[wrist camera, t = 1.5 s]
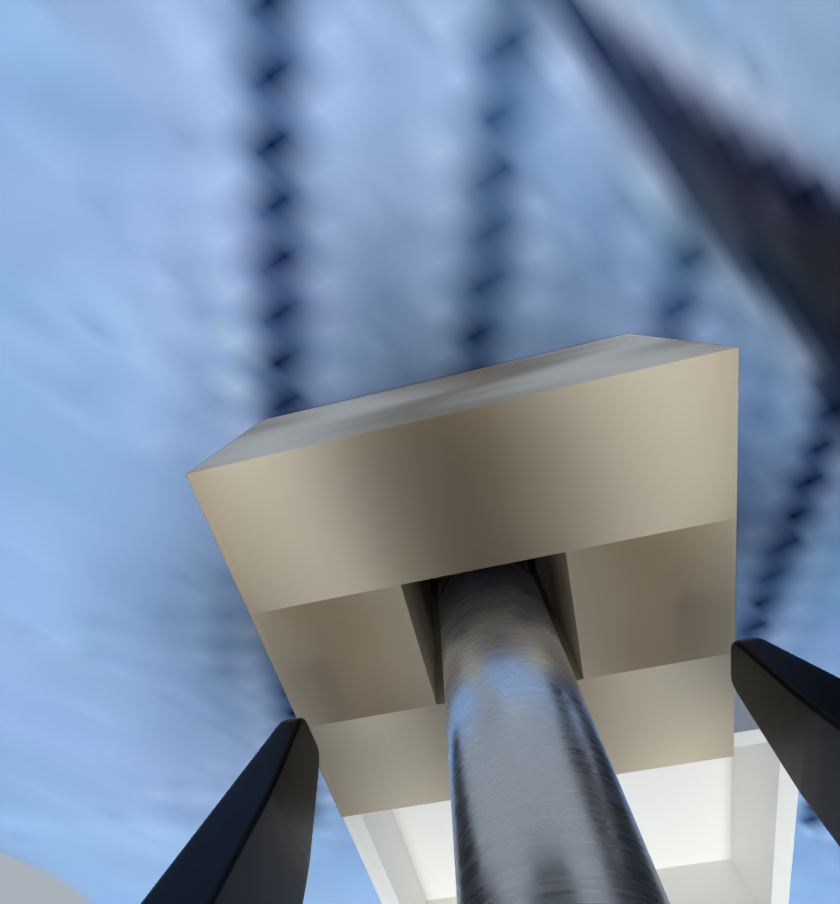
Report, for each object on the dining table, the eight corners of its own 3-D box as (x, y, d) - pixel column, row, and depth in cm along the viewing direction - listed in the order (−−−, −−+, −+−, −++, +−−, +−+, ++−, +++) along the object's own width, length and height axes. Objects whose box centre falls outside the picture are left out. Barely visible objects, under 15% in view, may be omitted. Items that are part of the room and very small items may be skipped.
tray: (740, 652, 14) (804, 721, 12) (736, 850, 18) (785, 934, 15) (347, 721, 15) (333, 796, 13) (417, 894, 19) (416, 979, 16)
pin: (517, 479, 12) (1040, 1401, 2) (533, 570, 13) (927, 1487, 3) (410, 502, 12) (361, 1424, 2) (434, 589, 13) (479, 1497, 3)
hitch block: (626, 333, 11) (739, 347, 7) (648, 634, 14) (733, 756, 10) (263, 419, 12) (185, 473, 8) (362, 686, 15) (341, 817, 11)
